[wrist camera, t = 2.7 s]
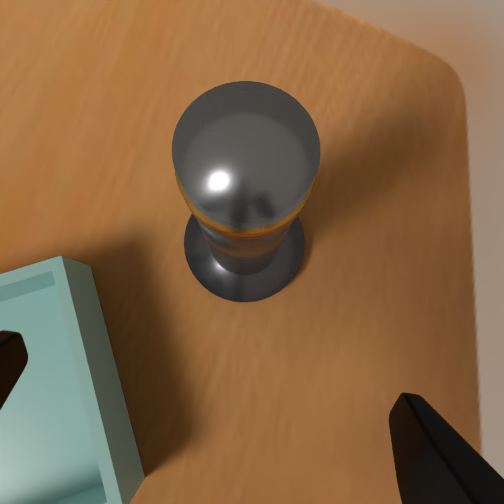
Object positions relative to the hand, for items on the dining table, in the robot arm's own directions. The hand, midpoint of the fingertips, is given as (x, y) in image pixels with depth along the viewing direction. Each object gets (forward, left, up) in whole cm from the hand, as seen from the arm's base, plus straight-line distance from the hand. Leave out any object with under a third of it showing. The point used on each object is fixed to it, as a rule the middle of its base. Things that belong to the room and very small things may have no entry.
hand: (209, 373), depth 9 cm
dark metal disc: (+5, -3, -13) cm, 14 cm away
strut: (+5, -3, -12) cm, 13 cm away
